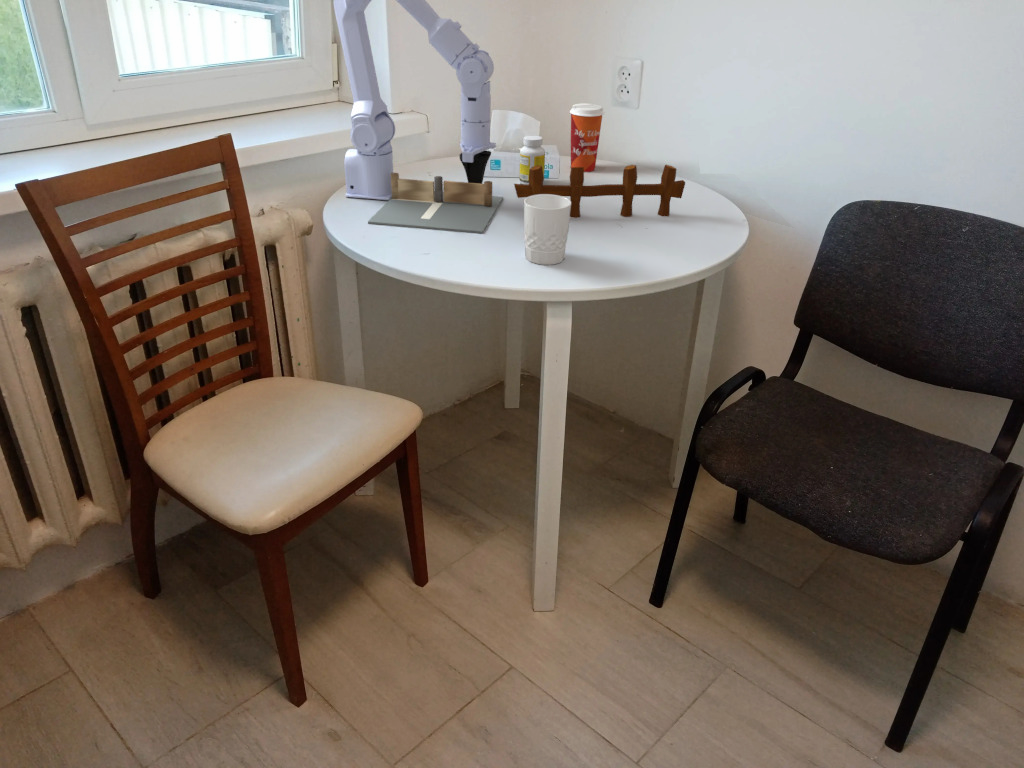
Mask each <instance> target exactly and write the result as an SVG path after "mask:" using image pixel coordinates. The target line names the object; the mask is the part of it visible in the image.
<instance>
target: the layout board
mask: <svg viewBox="0 0 1024 768" xmlns="http://www.w3.org/2000/svg"><path fill="white" fill-rule="evenodd" d="M434 195H435V190H434ZM503 199H504V196H497V195H492V206H484V205H480V204H468V203H456V202H444V191H443V202H442V203H436V202H435V201H434V202H430V201H418V200H405V199H392V198H391V199H390V200H387V202H385V204H384V205H382V207H381V208H379V210H378V211H376V212H375V214H373V216H371V218H369V219H368V220H367V224H369V225H370V224H372V225H379V226H380V225H382V226H391V227H392V226H393V227H404V228H414V229H415V228H416V229H424V230H425V229H427V230H439V231H449V232H459V233H471V234H472V233H473V234H481V235H482V234H483V233H484V232H485V231H486V228H487V227H488V226H489V223H490V222H491V220H492V219H493V217H494V215H495V213H496V212H497V209H498V208H499V206H500V205H501V203H502V202H503Z"/></svg>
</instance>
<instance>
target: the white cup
mask: <svg viewBox="0 0 1024 768" xmlns="http://www.w3.org/2000/svg"><path fill="white" fill-rule="evenodd" d="M570 211H571V201H570V199H569V198H567V197H566V196H558V195H551V194H539V195H532V196H529V197H524V200H523V226H524V227H523V231H524V233H523V234H524V246H525V248H524V250H525V251H524V253H525V258H526V260H527V261H528V262H530V263H531V264H532V263H533V264H536V265H544V266H545V265H546V266H550V265H556V264H559V263H562V262H563V261H564V260H565V257H566V256H565V255H566V245H567V243H568V242H567V241H568V234H569V230H570V229H569V228H570V219H571V217H570Z"/></svg>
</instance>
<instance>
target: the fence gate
mask: <svg viewBox="0 0 1024 768" xmlns="http://www.w3.org/2000/svg"><path fill="white" fill-rule="evenodd" d="M443 192H444V202H456V203H468V204H480V205H484V206H492V196H493V181H490V180H485V181H483V183H482V184H480V183H468V181H467V182H465V181H454V180H453V181H451V180H443Z"/></svg>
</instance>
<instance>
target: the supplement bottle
mask: <svg viewBox="0 0 1024 768" xmlns="http://www.w3.org/2000/svg"><path fill="white" fill-rule="evenodd" d="M523 144H524V145H523V146H522V147H521V148H520V150H519V151H520V152H519V184H525V185H529V170H530V168H531V167H534V166H538V165H539V166H542V169H543V177H544V178H545V167H546V166H545V163H546V160H545V159H546V151H545V148H544V147H542V145H543V137H542V136H539V135H525V136H524V137H523ZM544 182H545V179H544V180H543V184H544Z"/></svg>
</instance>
